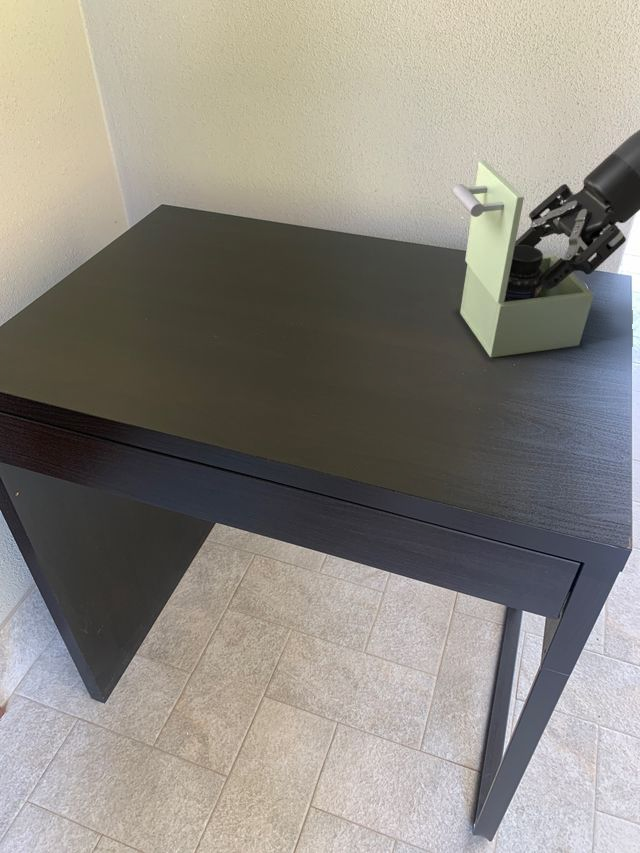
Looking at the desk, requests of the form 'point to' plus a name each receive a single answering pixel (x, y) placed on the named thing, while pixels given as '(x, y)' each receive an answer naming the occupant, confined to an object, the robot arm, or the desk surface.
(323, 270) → the desk surface
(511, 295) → the pill bottle
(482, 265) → the green box lid
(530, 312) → the pale green open box
